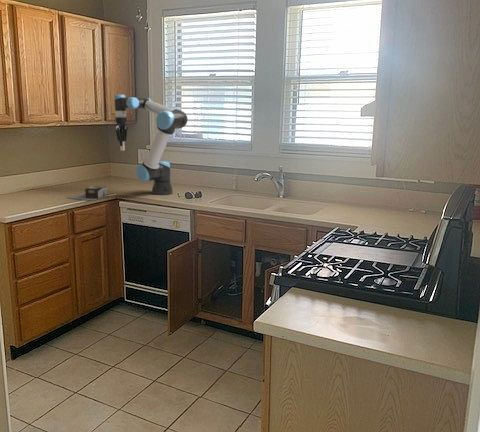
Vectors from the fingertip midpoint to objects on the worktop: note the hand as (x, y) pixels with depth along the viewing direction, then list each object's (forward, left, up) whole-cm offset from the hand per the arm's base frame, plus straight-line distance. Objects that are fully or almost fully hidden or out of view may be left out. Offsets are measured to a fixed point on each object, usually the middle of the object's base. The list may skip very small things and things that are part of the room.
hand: (122, 150), depth 341 cm
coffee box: (+7, +18, -26) cm, 32 cm away
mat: (+8, +30, -30) cm, 43 cm away
